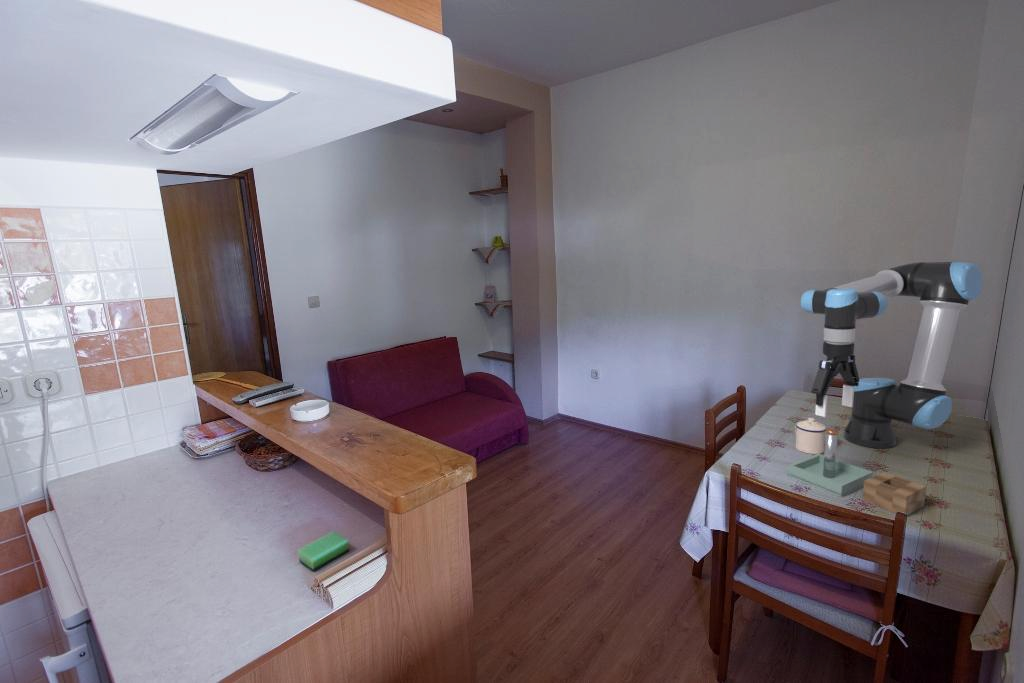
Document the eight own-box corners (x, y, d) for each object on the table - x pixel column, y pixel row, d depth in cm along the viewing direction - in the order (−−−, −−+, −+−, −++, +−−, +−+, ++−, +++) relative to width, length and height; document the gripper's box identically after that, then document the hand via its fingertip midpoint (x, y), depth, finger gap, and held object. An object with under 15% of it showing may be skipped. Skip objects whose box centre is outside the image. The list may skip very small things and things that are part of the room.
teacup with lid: (831, 453, 161) (833, 421, 159) (806, 456, 160) (808, 424, 158) (806, 440, 173) (808, 410, 171) (783, 442, 172) (785, 412, 170)
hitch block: (881, 491, 136) (883, 471, 134) (923, 506, 127) (926, 486, 126) (862, 500, 131) (864, 480, 130) (904, 517, 122) (906, 496, 121)
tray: (817, 463, 155) (818, 453, 154) (871, 482, 140) (872, 472, 140) (786, 475, 148) (787, 465, 147) (841, 497, 133) (841, 486, 133)
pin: (826, 472, 146) (829, 427, 143) (836, 476, 143) (840, 430, 140) (820, 475, 145) (823, 429, 142) (830, 479, 142) (834, 432, 139)
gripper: (849, 334, 145) (844, 399, 149) (799, 346, 134) (796, 416, 138) (876, 337, 138) (871, 405, 142) (826, 350, 127) (822, 423, 131)
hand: (834, 410), depth 140 cm, fingers open, 13 cm apart
